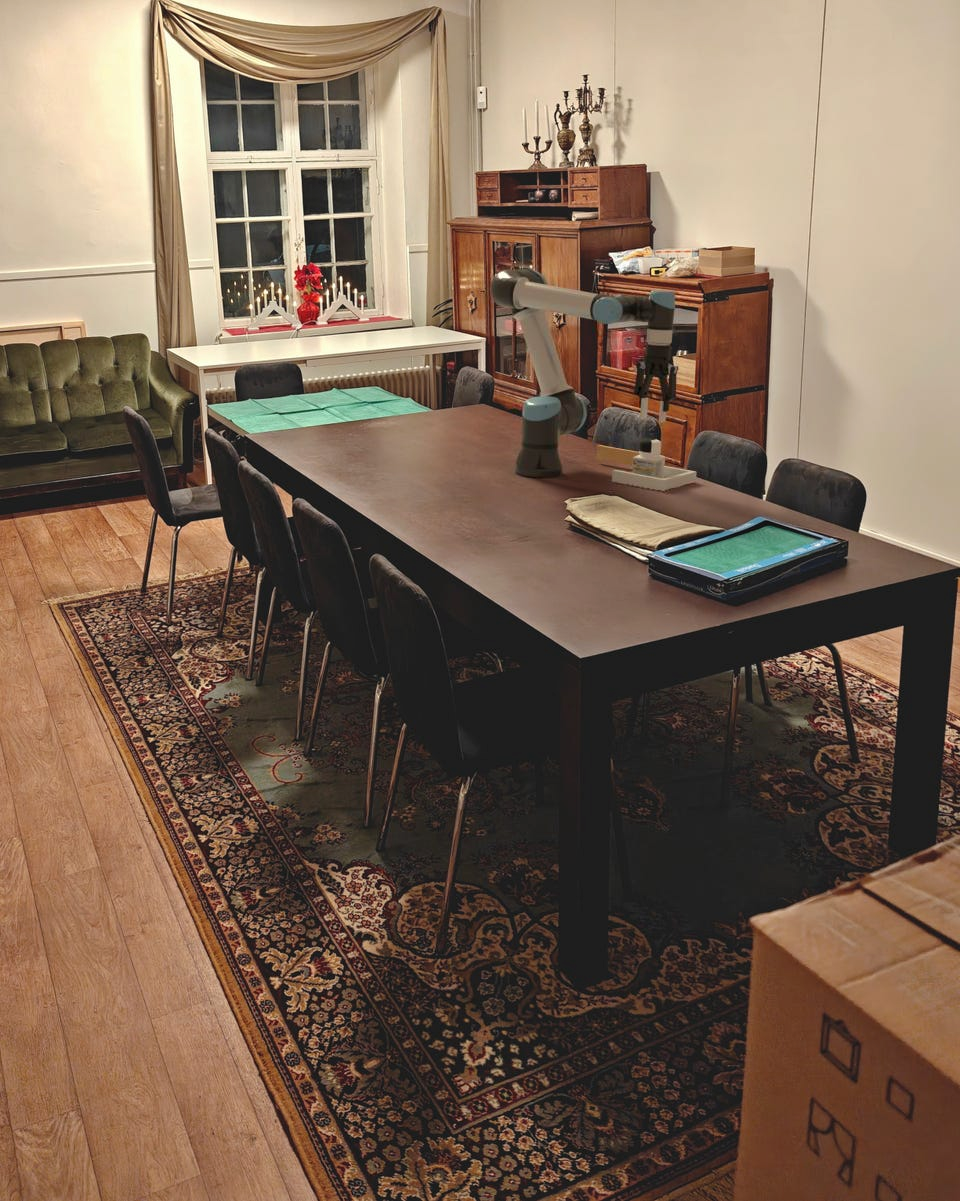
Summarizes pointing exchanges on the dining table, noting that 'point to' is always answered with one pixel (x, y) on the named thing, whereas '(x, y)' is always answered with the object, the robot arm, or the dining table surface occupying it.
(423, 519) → the dining table surface
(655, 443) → the container
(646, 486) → the c-shaped frame
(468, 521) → the dining table surface
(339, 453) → the dining table surface
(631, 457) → the gate
